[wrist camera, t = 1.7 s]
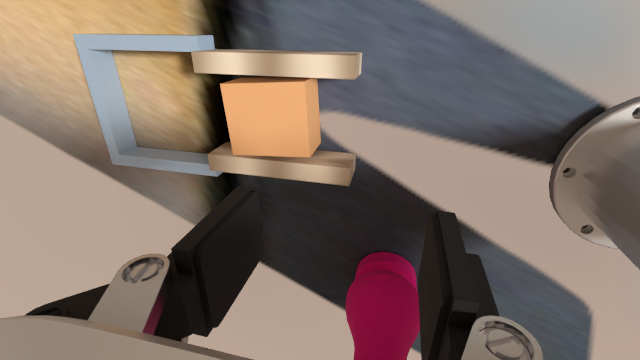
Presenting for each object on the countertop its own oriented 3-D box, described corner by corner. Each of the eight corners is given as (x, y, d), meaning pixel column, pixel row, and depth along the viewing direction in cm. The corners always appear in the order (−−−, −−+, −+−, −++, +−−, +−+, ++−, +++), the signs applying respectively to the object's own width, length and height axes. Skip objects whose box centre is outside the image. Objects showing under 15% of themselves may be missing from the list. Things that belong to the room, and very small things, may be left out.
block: (317, 74, 27) (304, 81, 23) (321, 141, 29) (310, 157, 26) (242, 77, 28) (219, 83, 25) (252, 140, 31) (233, 154, 27)
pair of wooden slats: (362, 52, 25) (356, 55, 22) (354, 169, 29) (349, 186, 26) (214, 49, 28) (191, 51, 24) (228, 156, 32) (210, 170, 29)
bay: (212, 35, 27) (196, 35, 25) (229, 166, 32) (217, 176, 30) (97, 33, 30) (72, 34, 27) (130, 155, 35) (112, 164, 33)
